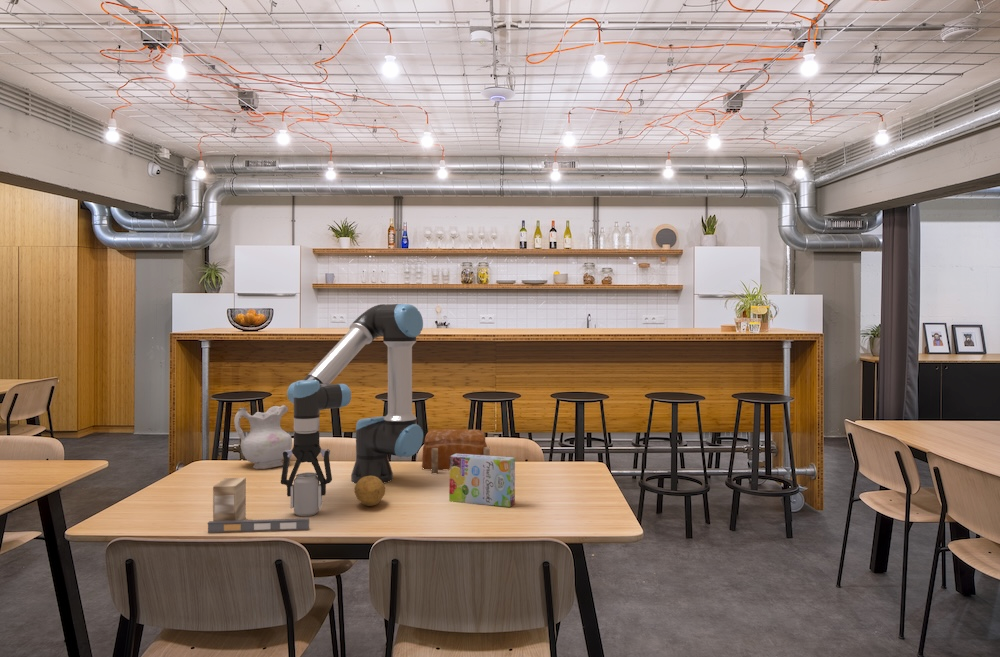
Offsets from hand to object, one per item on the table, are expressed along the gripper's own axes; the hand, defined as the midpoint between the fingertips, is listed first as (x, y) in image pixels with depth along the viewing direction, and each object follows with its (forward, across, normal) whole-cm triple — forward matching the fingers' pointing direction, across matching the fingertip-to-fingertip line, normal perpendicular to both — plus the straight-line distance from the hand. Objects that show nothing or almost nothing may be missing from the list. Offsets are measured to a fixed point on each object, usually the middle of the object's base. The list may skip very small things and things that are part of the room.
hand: (306, 506), depth 193 cm
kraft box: (+2, +20, +8) cm, 22 cm away
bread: (+3, -47, -58) cm, 75 cm away
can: (+2, 0, 0) cm, 2 cm away
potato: (+2, -18, -7) cm, 20 cm away
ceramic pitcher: (+2, +29, -65) cm, 71 cm away
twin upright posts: (+2, -49, -57) cm, 75 cm away
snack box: (+2, -54, -7) cm, 55 cm away
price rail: (+2, +10, +15) cm, 18 cm away
